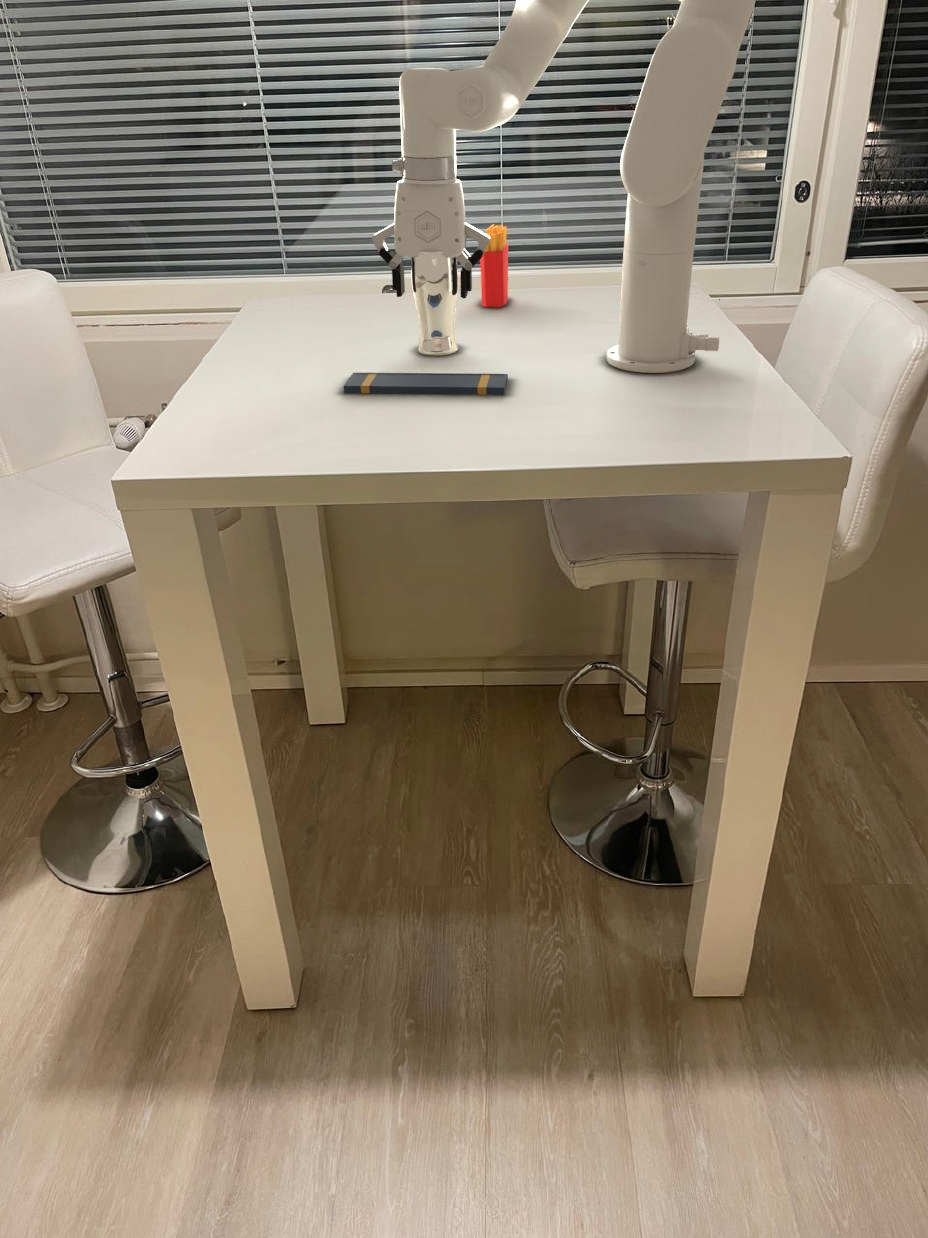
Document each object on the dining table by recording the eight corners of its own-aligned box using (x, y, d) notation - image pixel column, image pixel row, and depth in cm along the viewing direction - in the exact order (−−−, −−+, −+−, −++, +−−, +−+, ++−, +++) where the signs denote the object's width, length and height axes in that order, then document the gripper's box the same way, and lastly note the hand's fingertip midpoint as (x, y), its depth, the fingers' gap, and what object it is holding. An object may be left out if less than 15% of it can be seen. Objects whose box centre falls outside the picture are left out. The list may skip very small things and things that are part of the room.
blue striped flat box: (507, 380, 132) (507, 372, 131) (504, 394, 127) (504, 386, 126) (353, 379, 134) (353, 371, 134) (344, 393, 129) (343, 385, 129)
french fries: (487, 296, 174) (486, 221, 168) (510, 297, 174) (510, 221, 167) (478, 309, 167) (476, 230, 160) (502, 309, 166) (501, 230, 159)
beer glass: (455, 357, 142) (451, 252, 134) (410, 355, 143) (404, 251, 136) (464, 344, 148) (461, 242, 140) (421, 343, 149) (416, 242, 141)
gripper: (363, 172, 130) (370, 300, 139) (488, 173, 128) (487, 302, 137) (374, 166, 136) (380, 288, 146) (493, 166, 135) (492, 290, 144)
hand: (432, 295), depth 141 cm, fingers open, 9 cm apart
